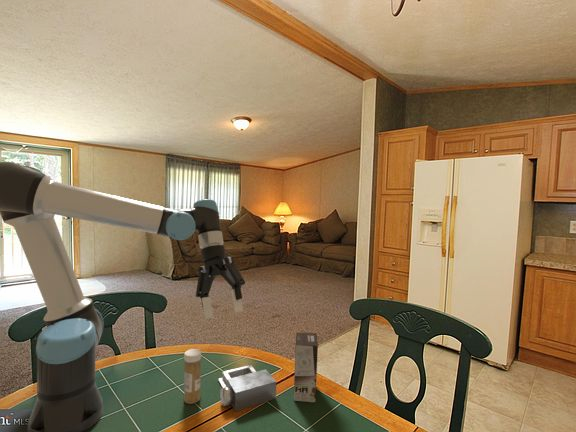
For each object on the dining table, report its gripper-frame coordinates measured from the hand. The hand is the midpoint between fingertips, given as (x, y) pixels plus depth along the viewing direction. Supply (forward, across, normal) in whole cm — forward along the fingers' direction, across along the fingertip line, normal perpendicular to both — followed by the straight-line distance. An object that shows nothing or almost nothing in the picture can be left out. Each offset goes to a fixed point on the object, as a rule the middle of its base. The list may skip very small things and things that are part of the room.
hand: (223, 315), depth 94 cm
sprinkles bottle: (+20, +8, +9) cm, 24 cm away
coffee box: (+27, -14, -14) cm, 33 cm away
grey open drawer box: (+22, 0, -3) cm, 22 cm away
